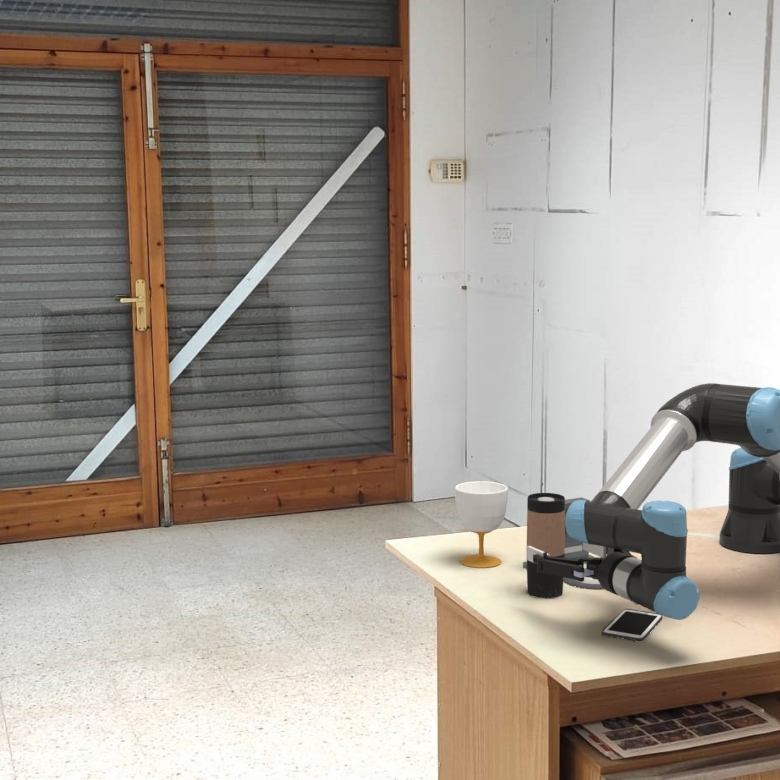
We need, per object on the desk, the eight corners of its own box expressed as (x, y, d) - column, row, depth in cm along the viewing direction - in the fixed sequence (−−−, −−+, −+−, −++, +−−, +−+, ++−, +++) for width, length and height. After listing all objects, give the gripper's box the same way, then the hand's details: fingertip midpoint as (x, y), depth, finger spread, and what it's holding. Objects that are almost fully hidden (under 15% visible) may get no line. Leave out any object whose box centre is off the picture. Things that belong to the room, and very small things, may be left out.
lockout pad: (633, 576, 239) (633, 573, 239) (610, 593, 228) (610, 590, 228) (576, 566, 246) (576, 564, 246) (551, 582, 235) (551, 580, 235)
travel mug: (519, 589, 231) (520, 494, 228) (551, 584, 234) (552, 491, 231) (538, 601, 224) (539, 503, 221) (571, 595, 227) (572, 499, 224)
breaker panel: (582, 556, 253) (583, 496, 251) (596, 562, 249) (597, 501, 247) (523, 567, 246) (523, 504, 244) (536, 573, 242) (537, 510, 240)
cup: (516, 566, 247) (517, 490, 244) (467, 572, 243) (467, 495, 240) (493, 552, 258) (494, 479, 255) (446, 557, 254) (446, 483, 251)
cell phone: (600, 637, 205) (600, 632, 205) (624, 612, 218) (624, 607, 218) (642, 644, 202) (642, 639, 202) (664, 619, 214) (664, 614, 214)
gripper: (570, 608, 199) (504, 575, 218) (678, 585, 211) (606, 556, 229) (571, 567, 198) (504, 538, 217) (679, 547, 210) (607, 521, 228)
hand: (556, 547), depth 223 cm, fingers open, 13 cm apart
